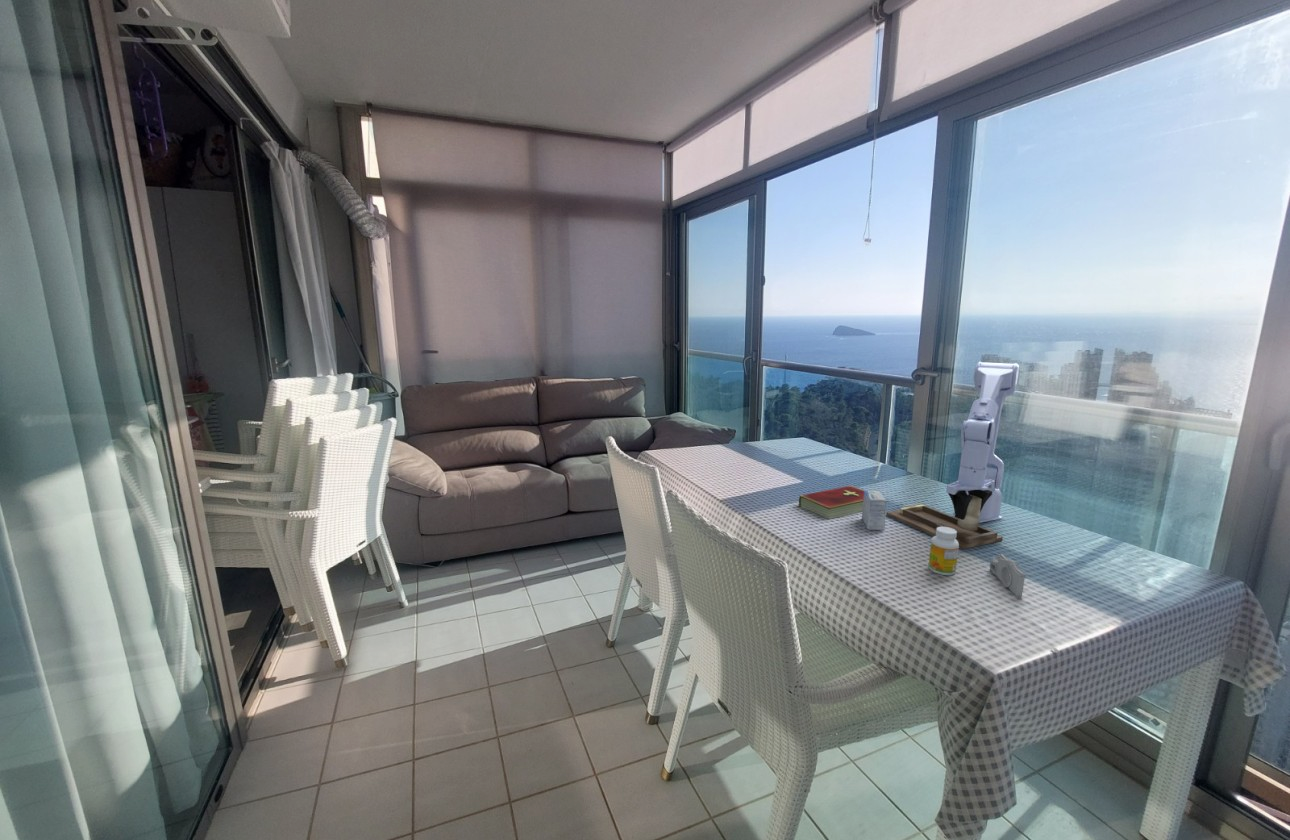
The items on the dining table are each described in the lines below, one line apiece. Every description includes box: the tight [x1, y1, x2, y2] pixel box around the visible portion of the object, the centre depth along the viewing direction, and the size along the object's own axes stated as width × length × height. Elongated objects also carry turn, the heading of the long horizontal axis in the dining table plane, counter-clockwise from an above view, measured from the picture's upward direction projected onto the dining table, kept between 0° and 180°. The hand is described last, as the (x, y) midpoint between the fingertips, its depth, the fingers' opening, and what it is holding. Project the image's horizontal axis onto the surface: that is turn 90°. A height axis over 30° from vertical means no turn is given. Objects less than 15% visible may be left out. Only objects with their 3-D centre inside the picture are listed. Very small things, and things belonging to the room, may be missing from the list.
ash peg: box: [957, 495, 982, 531], centre depth 133 cm, size 4×4×8 cm
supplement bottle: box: [928, 527, 960, 576], centre depth 117 cm, size 5×5×10 cm
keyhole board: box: [886, 503, 1003, 550], centre depth 141 cm, size 14×24×2 cm, turn 20°
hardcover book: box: [798, 485, 865, 520], centre depth 156 cm, size 12×21×4 cm, turn 116°
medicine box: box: [861, 490, 888, 531], centre depth 142 cm, size 8×4×9 cm, turn 168°
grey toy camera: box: [989, 553, 1029, 597], centre depth 111 cm, size 12×2×6 cm, turn 170°
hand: (966, 516), depth 134 cm, fingers closed on ash peg, 4 cm apart
